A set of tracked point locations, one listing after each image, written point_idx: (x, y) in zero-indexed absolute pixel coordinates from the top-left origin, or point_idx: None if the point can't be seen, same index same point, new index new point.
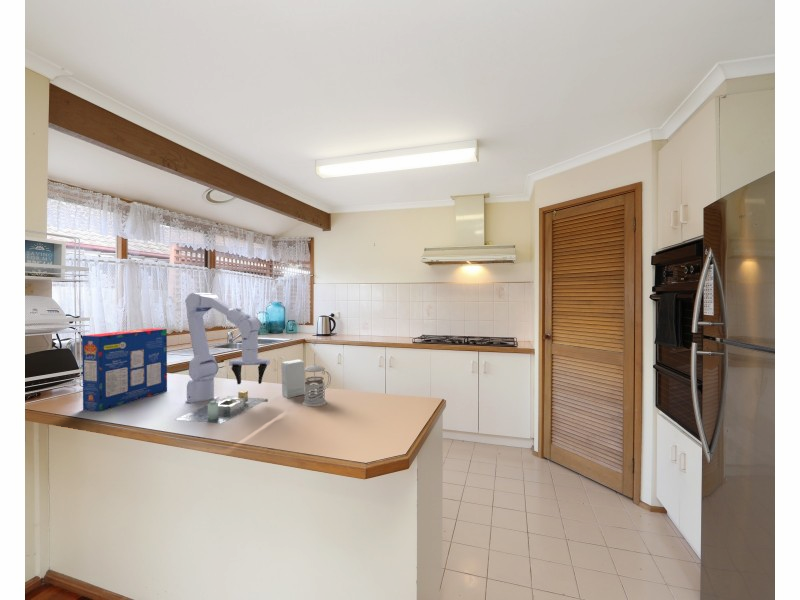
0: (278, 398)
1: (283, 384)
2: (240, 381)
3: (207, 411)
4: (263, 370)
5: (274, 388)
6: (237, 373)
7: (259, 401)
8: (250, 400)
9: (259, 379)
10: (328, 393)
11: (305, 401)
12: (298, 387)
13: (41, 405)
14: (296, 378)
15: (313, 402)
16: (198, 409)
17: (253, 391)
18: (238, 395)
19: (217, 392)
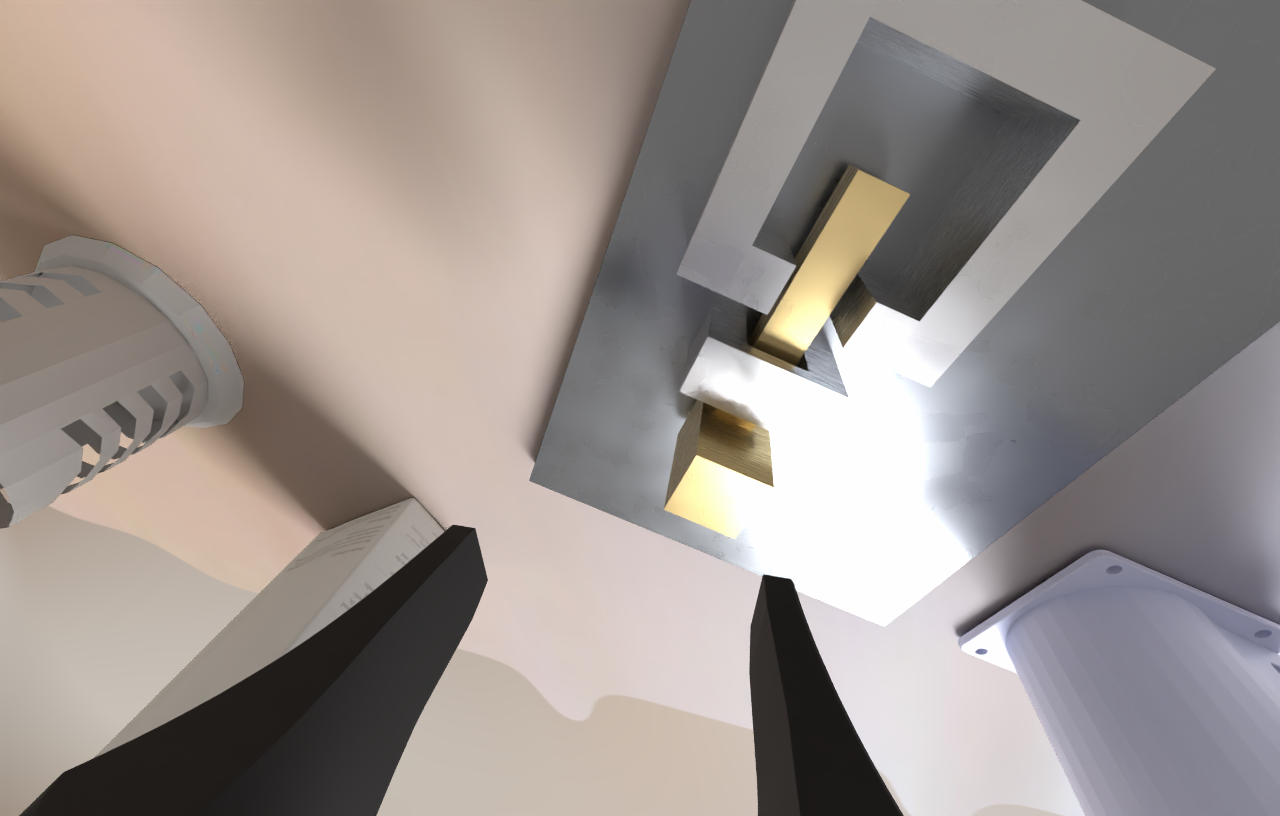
0: (476, 507)
1: None
2: (754, 641)
3: (1152, 208)
4: (162, 725)
5: (578, 686)
6: (818, 802)
7: (576, 430)
8: (667, 477)
9: (414, 573)
10: (182, 511)
11: (158, 321)
12: (301, 568)
13: None
14: (238, 640)
15: (64, 269)
16: (1258, 325)
17: (703, 680)
18: (770, 461)
19: (963, 736)
